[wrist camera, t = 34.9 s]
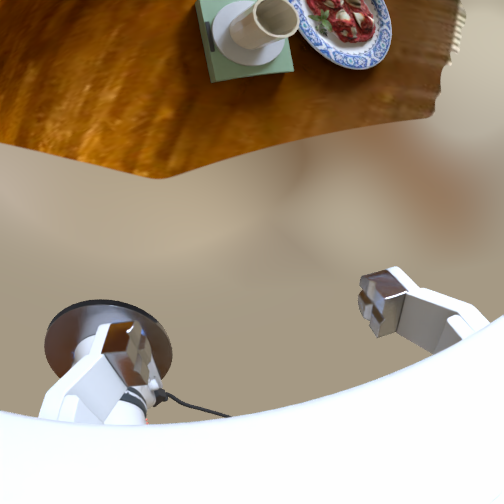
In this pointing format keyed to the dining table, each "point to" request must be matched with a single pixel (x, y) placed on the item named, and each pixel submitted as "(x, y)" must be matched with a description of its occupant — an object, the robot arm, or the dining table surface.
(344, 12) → the ceramic plate
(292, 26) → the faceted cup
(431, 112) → the dining table surface
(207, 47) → the scale
